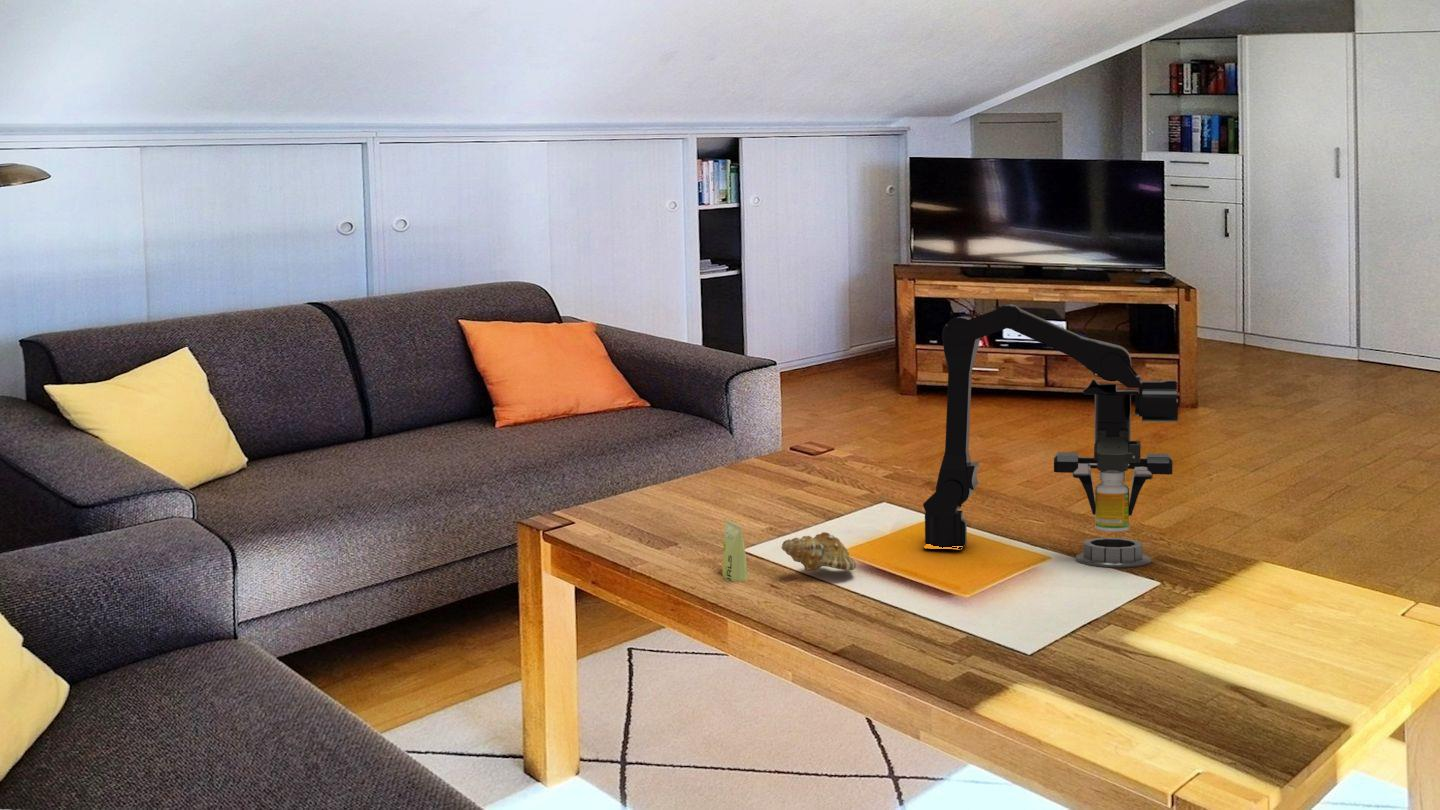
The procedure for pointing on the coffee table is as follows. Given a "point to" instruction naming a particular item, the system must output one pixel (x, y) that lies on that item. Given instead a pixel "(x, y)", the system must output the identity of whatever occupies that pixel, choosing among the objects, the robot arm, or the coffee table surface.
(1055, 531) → the coffee table surface
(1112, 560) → the collar stand
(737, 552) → the tube
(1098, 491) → the supplement bottle
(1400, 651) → the coffee table surface
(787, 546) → the seashell
